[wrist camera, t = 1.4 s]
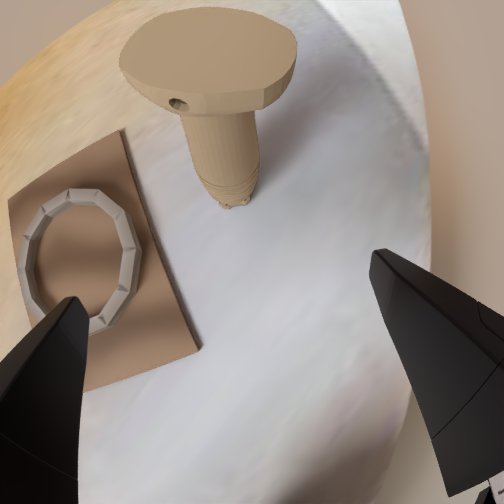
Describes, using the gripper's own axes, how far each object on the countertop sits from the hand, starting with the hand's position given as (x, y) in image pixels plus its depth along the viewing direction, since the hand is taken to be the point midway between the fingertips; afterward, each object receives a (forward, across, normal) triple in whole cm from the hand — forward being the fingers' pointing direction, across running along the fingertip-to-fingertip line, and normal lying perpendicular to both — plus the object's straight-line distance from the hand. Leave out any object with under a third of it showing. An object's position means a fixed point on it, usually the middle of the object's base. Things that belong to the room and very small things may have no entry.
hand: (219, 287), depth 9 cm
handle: (+16, 0, +4) cm, 16 cm away
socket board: (+13, +13, +7) cm, 19 cm away
